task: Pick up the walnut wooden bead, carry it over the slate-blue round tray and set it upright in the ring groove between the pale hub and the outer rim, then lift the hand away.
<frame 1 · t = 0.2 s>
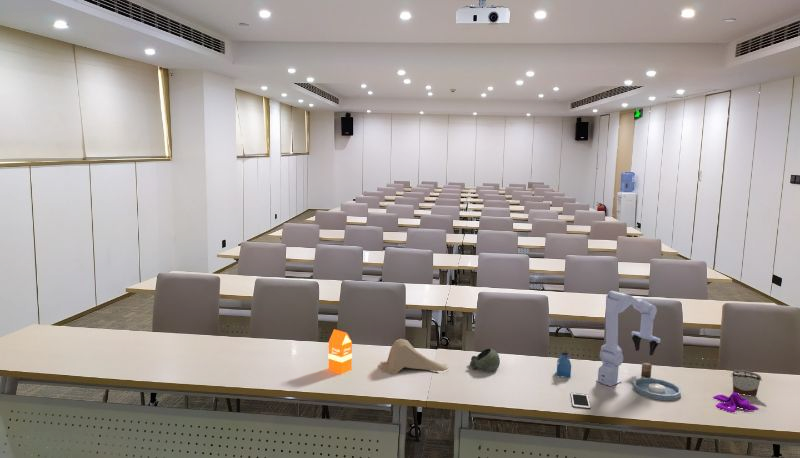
hand: (644, 352, 290), 10 cm above the table, tool pointing down, fingers open, 7 cm apart
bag: (414, 369, 290), on the table
orange juice: (340, 370, 285), on the table
green round pot: (484, 368, 292), on the table
food container: (742, 393, 268), on the table
perfume bottle: (563, 375, 285), on the table
cell phone: (580, 402, 255), on the table
round tray: (656, 390, 268), on the table
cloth: (737, 407, 254), on the table
wooden bead: (645, 375, 286), on the table
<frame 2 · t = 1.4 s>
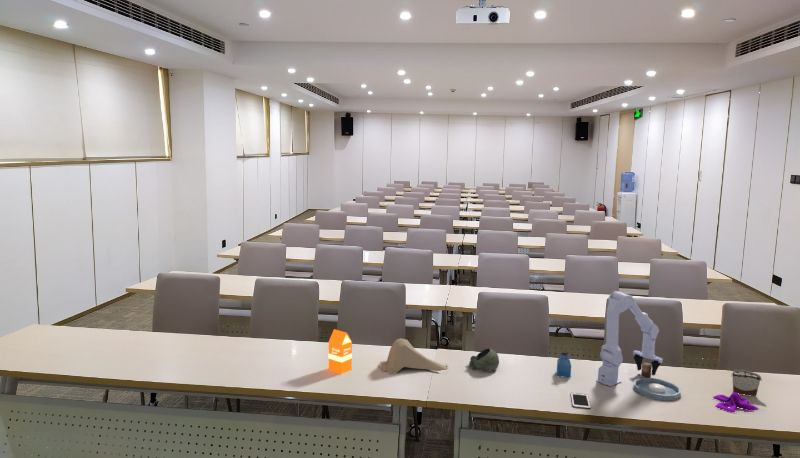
hand: (646, 372, 286), 2 cm above the table, tool pointing down, fingers open, 7 cm apart
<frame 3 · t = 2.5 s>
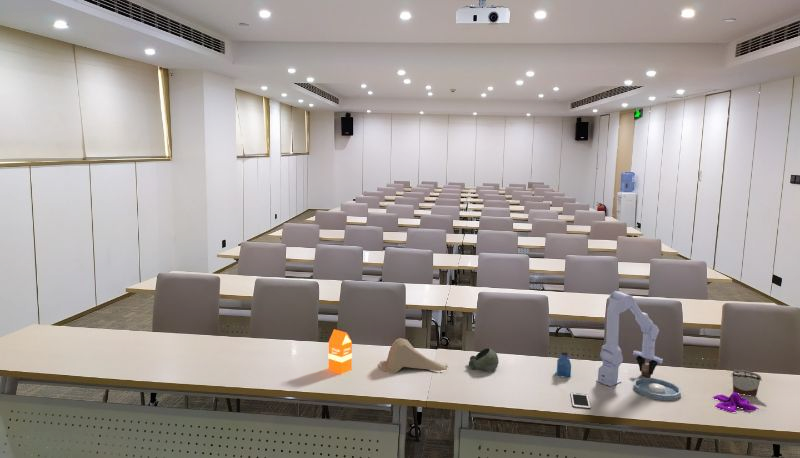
hand: (646, 372, 286), 2 cm above the table, tool pointing down, fingers closed on wooden bead, 4 cm apart
wooden bead: (645, 375, 286), on the table, touching gripper
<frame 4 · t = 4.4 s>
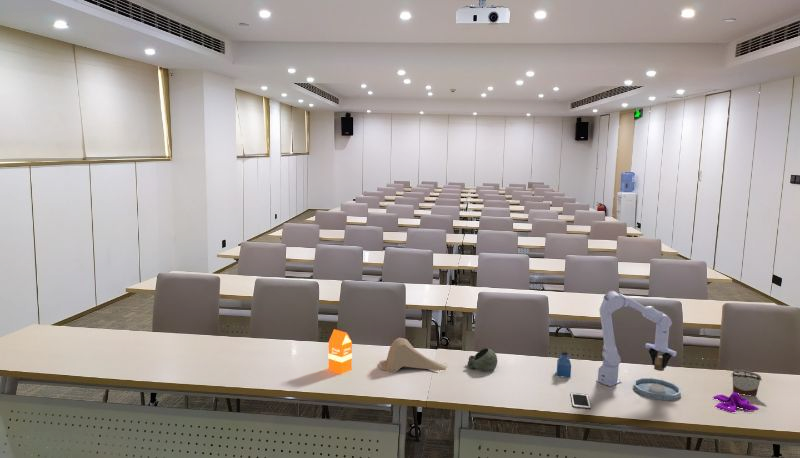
hand: (659, 366, 275), 9 cm above the table, tool pointing down, fingers closed on wooden bead, 4 cm apart
wooden bead: (659, 369, 276), point 7 cm above the table, touching gripper
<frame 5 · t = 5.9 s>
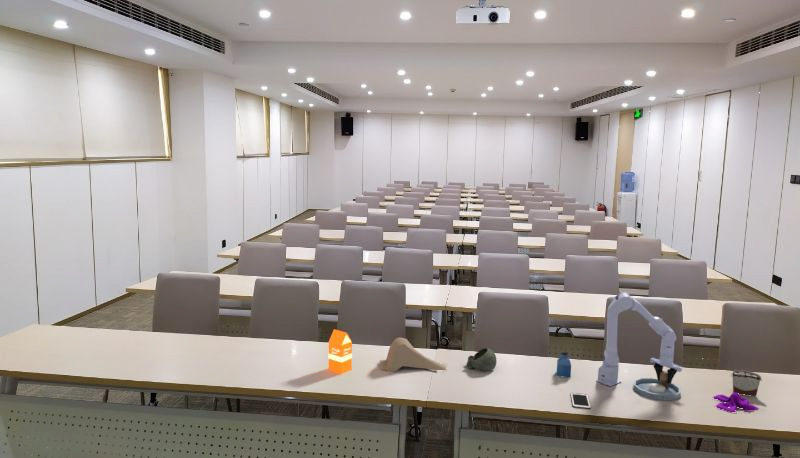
hand: (664, 381, 271), 3 cm above the table, tool pointing down, fingers closed on wooden bead, 4 cm apart
wooden bead: (664, 384, 272), point 2 cm above the table, touching gripper
when the fingers open (3 cm above the table, at t = 6.7 s): wooden bead drops 1 cm, resting on round tray.
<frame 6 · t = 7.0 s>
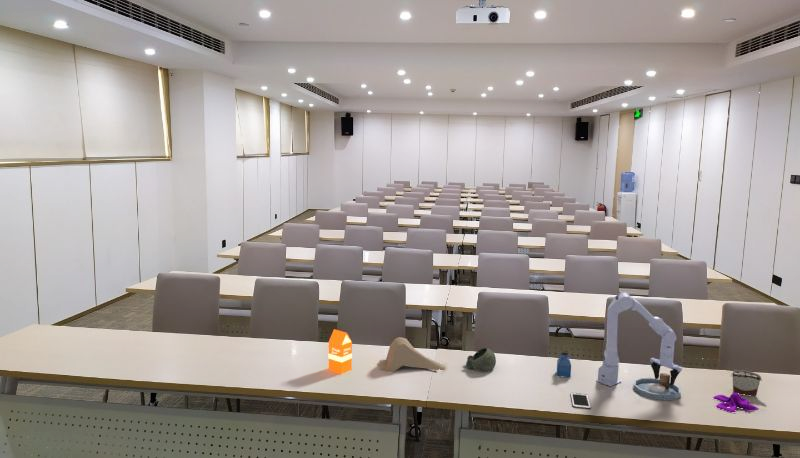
hand: (664, 381, 271), 3 cm above the table, tool pointing down, fingers open, 7 cm apart
wooden bead: (664, 386, 272), resting on round tray
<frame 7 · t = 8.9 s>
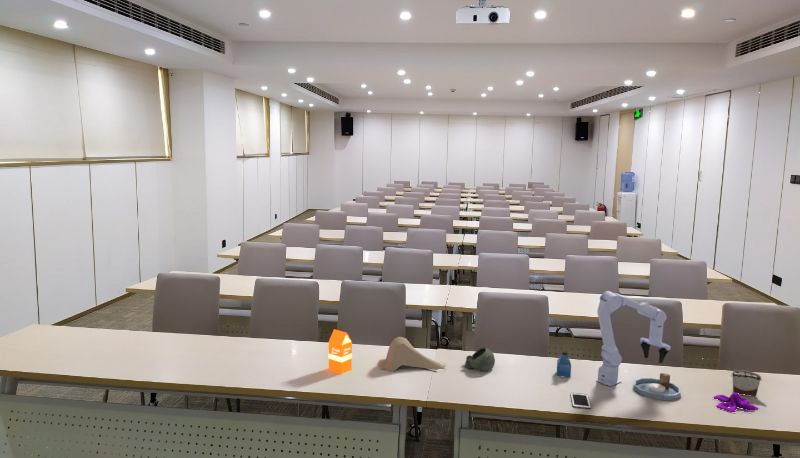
hand: (653, 360, 279), 10 cm above the table, tool pointing down, fingers open, 7 cm apart
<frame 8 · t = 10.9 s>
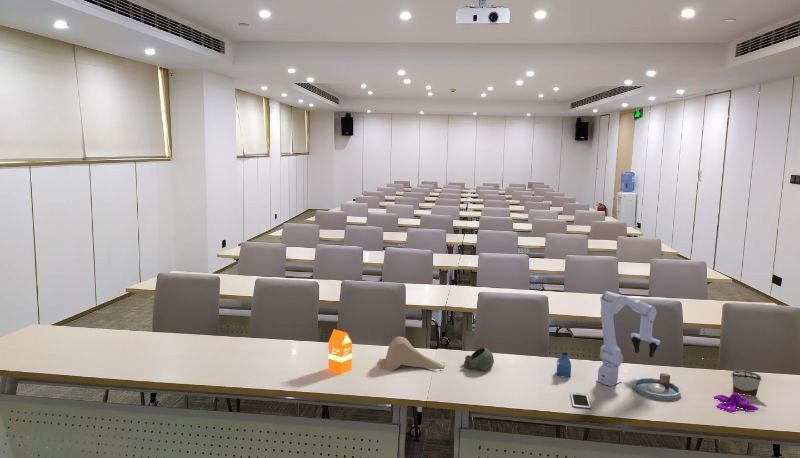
hand: (643, 354, 286), 10 cm above the table, tool pointing down, fingers open, 7 cm apart
at the end: wooden bead 0.1 cm from the target spot on the round tray, point 0.4 cm above the round tray's base; wooden bead tilted 0°; the gripper is holding nothing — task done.
